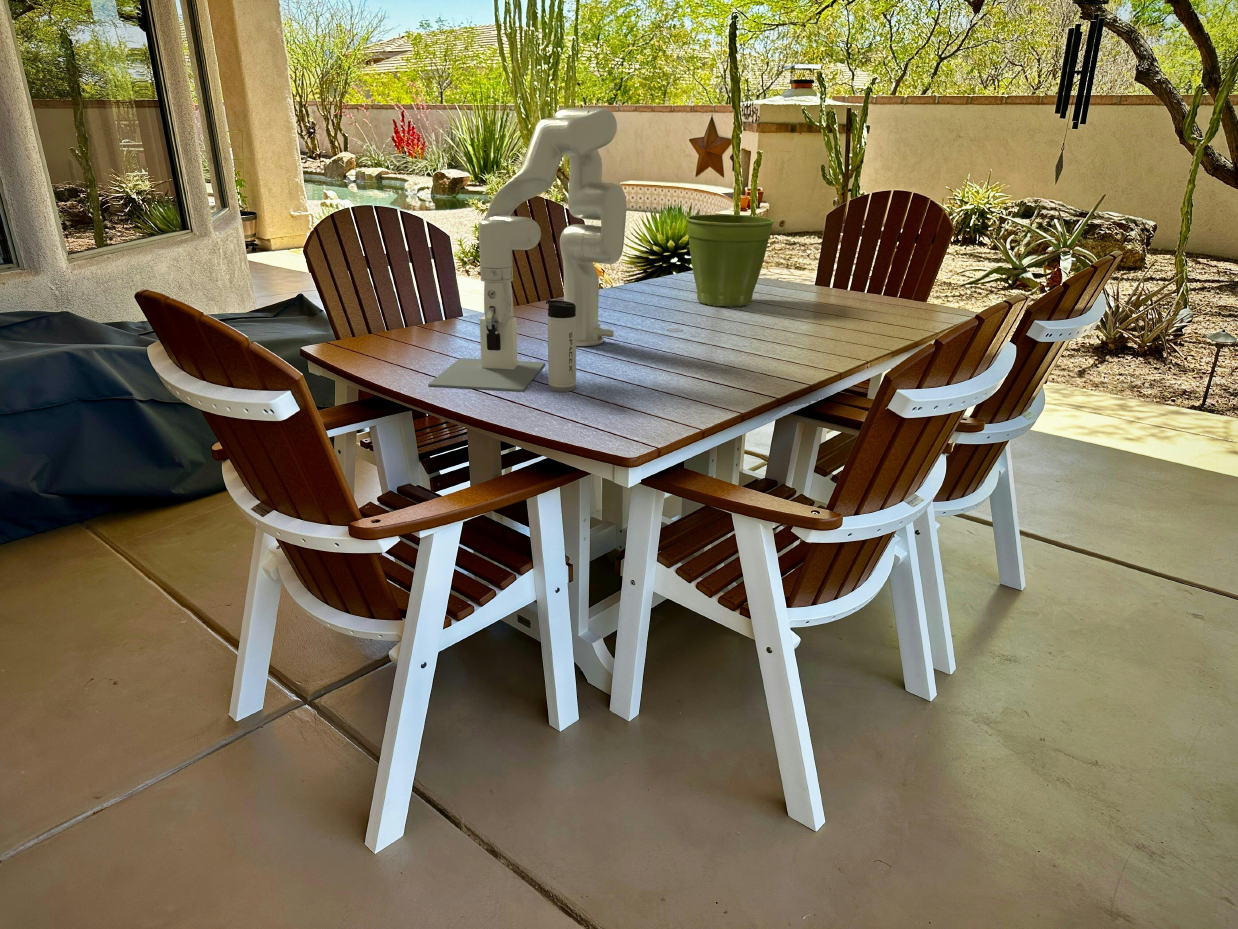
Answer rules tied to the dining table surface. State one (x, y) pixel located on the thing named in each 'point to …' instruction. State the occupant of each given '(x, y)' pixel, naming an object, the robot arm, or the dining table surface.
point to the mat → (487, 376)
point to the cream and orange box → (508, 351)
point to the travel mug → (561, 345)
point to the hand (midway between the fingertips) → (499, 345)
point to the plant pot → (727, 256)
